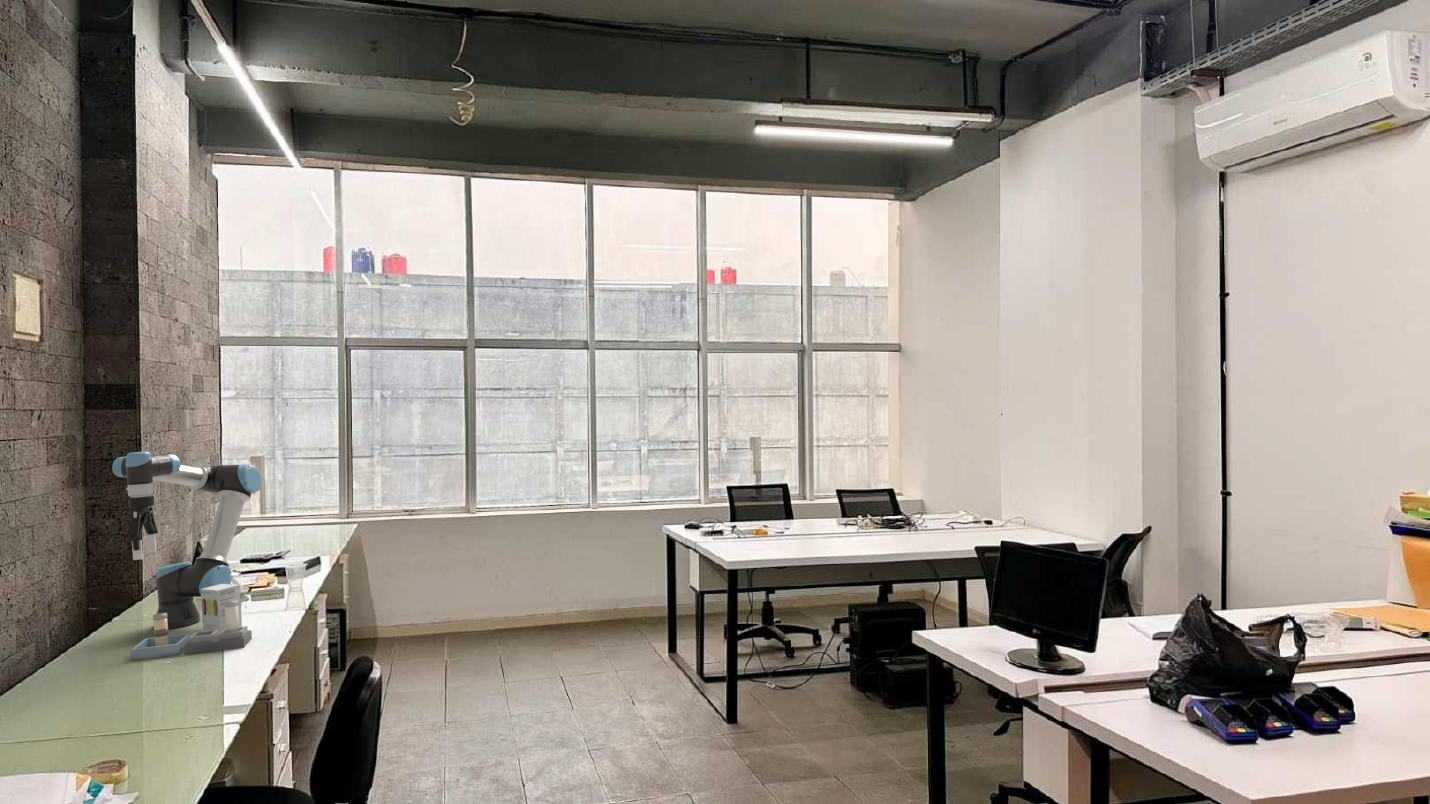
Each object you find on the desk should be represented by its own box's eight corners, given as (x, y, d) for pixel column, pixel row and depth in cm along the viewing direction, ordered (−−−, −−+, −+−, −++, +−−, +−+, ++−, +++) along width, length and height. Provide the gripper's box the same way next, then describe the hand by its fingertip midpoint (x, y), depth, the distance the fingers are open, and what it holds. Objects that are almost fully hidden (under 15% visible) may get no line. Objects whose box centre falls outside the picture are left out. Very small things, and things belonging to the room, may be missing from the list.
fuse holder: (194, 645, 305) (192, 602, 304) (251, 638, 310) (249, 596, 309) (185, 654, 294) (182, 610, 294) (244, 647, 299) (241, 603, 299)
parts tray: (146, 648, 304) (145, 638, 304) (191, 643, 308) (190, 633, 308) (131, 660, 290) (130, 649, 290) (178, 654, 294) (178, 644, 294)
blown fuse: (157, 648, 300) (155, 613, 300) (171, 646, 302) (169, 612, 301) (153, 651, 296) (150, 616, 296) (167, 649, 298) (164, 615, 297)
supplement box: (202, 634, 319) (199, 588, 318) (224, 627, 327) (222, 583, 327) (220, 636, 315) (217, 590, 315) (243, 629, 324) (240, 584, 323)
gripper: (141, 492, 317) (145, 550, 318) (115, 501, 293) (119, 563, 294) (164, 491, 319) (168, 548, 320) (140, 499, 296) (144, 561, 296)
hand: (144, 556), depth 307 cm, fingers open, 13 cm apart
